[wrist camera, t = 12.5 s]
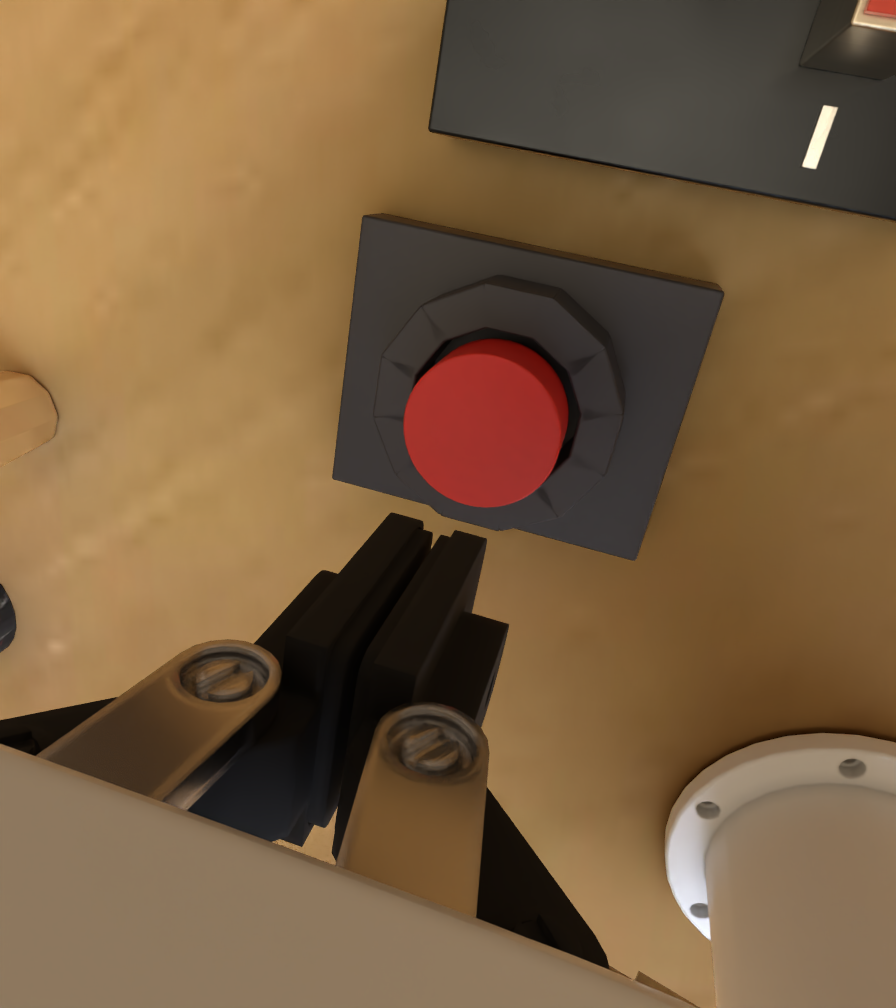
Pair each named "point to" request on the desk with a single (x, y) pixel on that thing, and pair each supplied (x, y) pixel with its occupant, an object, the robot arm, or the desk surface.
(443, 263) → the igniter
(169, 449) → the desk surface
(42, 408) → the milkshake
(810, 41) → the knob
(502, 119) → the black lever switch base
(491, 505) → the button
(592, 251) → the desk surface
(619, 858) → the desk surface
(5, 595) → the deodorant
